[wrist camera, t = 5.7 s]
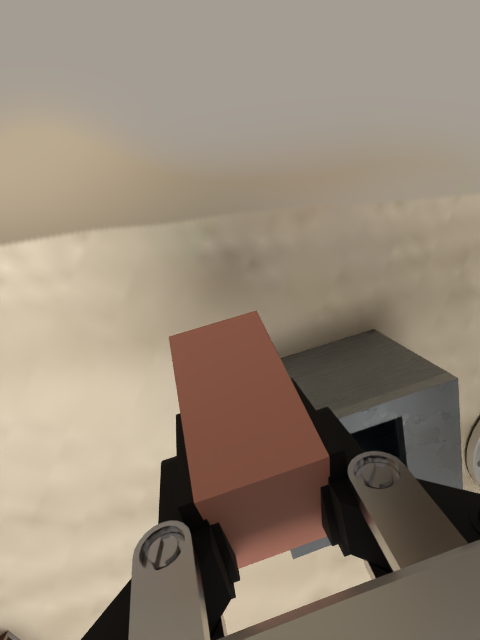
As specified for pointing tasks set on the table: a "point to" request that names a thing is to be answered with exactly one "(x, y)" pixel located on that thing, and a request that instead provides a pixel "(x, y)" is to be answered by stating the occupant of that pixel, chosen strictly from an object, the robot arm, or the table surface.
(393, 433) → the box
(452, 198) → the table surface
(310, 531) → the block
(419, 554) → the robot arm
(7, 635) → the food container
